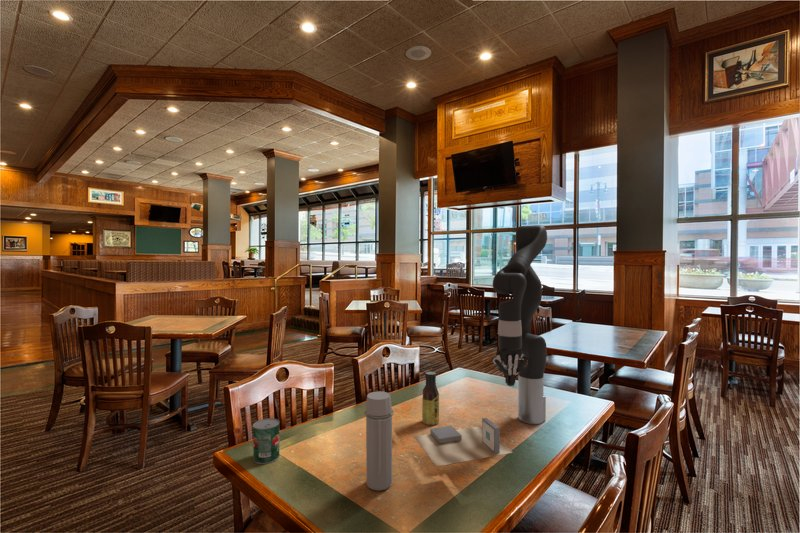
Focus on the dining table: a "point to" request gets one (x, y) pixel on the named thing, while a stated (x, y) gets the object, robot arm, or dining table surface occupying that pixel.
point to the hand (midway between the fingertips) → (510, 385)
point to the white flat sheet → (458, 447)
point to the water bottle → (379, 440)
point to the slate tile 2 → (491, 435)
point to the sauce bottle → (430, 401)
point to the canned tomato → (266, 441)
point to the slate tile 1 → (445, 434)
